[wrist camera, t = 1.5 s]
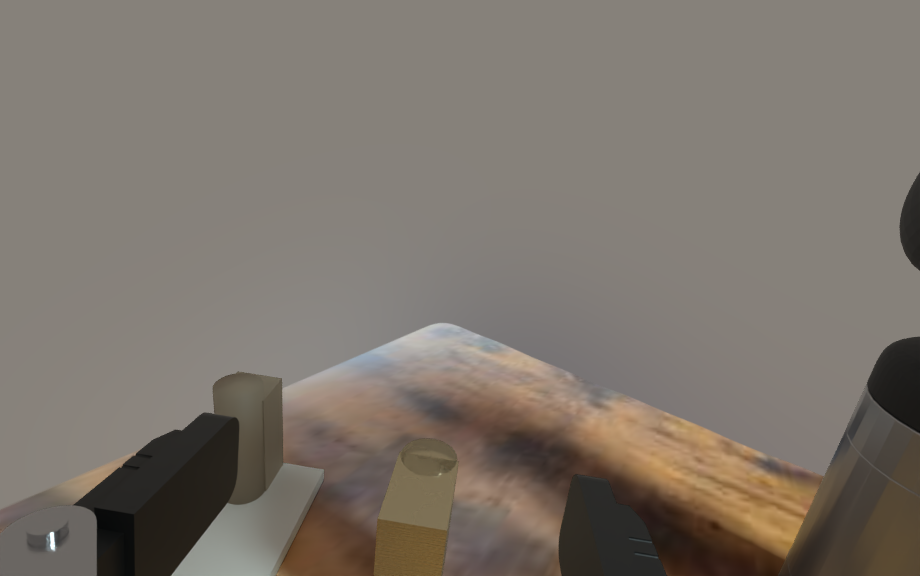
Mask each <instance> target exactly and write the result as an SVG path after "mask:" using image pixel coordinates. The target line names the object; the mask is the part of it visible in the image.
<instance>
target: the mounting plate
mask: <svg viewBox="0 0 920 576" xmlns="http://www.w3.org/2000/svg"><path fill="white" fill-rule="evenodd" d="M213 400H214V413H215V414H218V415H224V416H230V417H236V418H237V419H238V421H239V450H238V472H237V480H236V485H235V488H234V491H233V493H232V496H231V498H230V500H229V501H228V503H227V504H226V505H225V507H224V508H223V509H222V511H221V512H220V513H219V514H218V516H217V517H216V518H215V520H214V521H213V522H212V524H211V525H210V526H209V527H208V529H207V530H206V531H205V533H204V534H203V535H202V536H201V538H200V539H199V540H198V542H197V543H196V544H195V545H194V547H193V548H192V549H191V551H190V552H189V553H188V555H187V556H186V557H185V558H184V560H183V561H182V562H181V564H180V565H179V566H178V567H177V569H176V570H175V571H174V573H173V574H172V575H171V576H276V574H277V572H278V570H279V568H280V566H281V564H282V562H283V560H284V558H285V556H286V554H287V552H288V550H289V548H290V546H291V544H292V542H293V540H294V538H295V536H296V534H297V532H298V530H299V528H300V526H301V524H302V522H303V520H304V518H305V516H306V514H307V512H308V510H309V508H310V506H311V504H312V502H313V500H314V498H315V496H316V494H317V492H318V490H319V488H320V486H321V484H322V482H323V480H324V470H323V469H317V468H312V467H306V466H300V465H294V464H288V463H283V420H282V378H275V377H269V376H263V375H256V374H250V373H244V372H237V373H236V374H232V375H228V376H225V377H223V378H221V379H219V380H218V381H216V382H215V384H214V385H213Z"/></svg>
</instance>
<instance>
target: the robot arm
mask: <svg viewBox="0 0 920 576" xmlns="http://www.w3.org/2000/svg"><path fill="white" fill-rule="evenodd" d="M900 238H901V243H902V246H903V249H904V252H905V254H906V256H907V257H908V259H909V260H910V261H911V263H912V264H913V265H914V266H915V267H916V268H917V269H918V270H920V173H919V174H918V176H917V178H916V179H915V181H914V183H913V185H912V187H911V189H910V190H909V193H908V195H907V197H906V200H905V202H904V206H903V209H902V213H901V218H900ZM238 450H239V421H238V419H237V418H236V417H230V416H224V415H218V414H212V413H203V414H201V415H200V416H199V417H197V418H196V419H195V420H194V421H193V422H192V423H190V424H189V425H188V426H187V427H186V428H185V429H184V430H182V431H181V430H174V431H172V432H169V433H167V434H165V435H163V436H160V437H159V438H156V439H154V440H152V441H151V442H150V443H148V444H147V445H146V446H145V447H143V448H142V449H141V450H140V451H139V452H137V453H136V456H133V457H131V458H130V459H129V460H128V461H126V462H125V463H124V464H123V466H122V468H120V467H119V468H118V469H117V470H116V471H114V472H113V473H112V474H111V475H109V476H108V477H107V478H106V479H105V480H103V481H102V482H101V483H100V484H98V485H97V486H96V487H95V488H94V489H92V490H91V491H90V492H89V493H88V494H86V495H85V496H84V497H83V498H81V499H80V500H79V501H78V502H77V503H75V504H74V505H64V506H55V507H50V508H46V509H42V510H39V511H36V512H33V513H31V514H28V515H26V516H24V517H22V518H20V519H18V520H17V521H15V522H13V523H12V524H10V525H9V526H8V527H7V528H5V529H4V530H3V532H2V533H1V534H0V576H171V575H172V574H173V573H174V571H175V570H176V569H177V567H178V566H179V565H180V564H181V562H182V561H183V560H184V558H185V557H186V556H187V555H188V553H189V552H190V551H191V549H192V548H193V547H194V545H195V544H196V543H197V542H198V540H199V539H200V538H201V536H202V535H203V534H204V533H205V531H206V530H207V529H208V527H209V526H210V525H211V524H212V522H213V521H214V520H215V518H216V517H217V516H218V514H219V513H220V512H221V511H222V509H223V508H224V507H225V505H226V504H227V503H228V501H229V500H230V498H231V496H232V493H233V491H234V488H235V485H236V480H237V472H238ZM559 562H560V568H561V574H562V576H667V575H666V572H665V570H664V568H663V565H662V563H661V561H660V559H658V553H657V551H656V549H655V546H654V544H652V539H651V537H650V534H649V532H648V529H647V527H646V525H645V522H644V521H643V520H642V519H641V518H640V517H639V516H638V515H637V514H636V513H635V511H634V510H633V509H632V508H631V507H630V506H628V505H622V504H617V503H616V501H615V498H614V495H613V492H612V489H611V487H610V484H609V481H608V480H607V479H602V478H596V477H590V476H584V475H578V474H575V475H574V476H573V478H572V481H571V485H570V490H569V494H568V499H567V503H566V507H565V512H564V516H563V521H562V525H561V530H560V536H559ZM778 576H920V337H912V338H907V339H902V340H899V341H896V342H894V343H892V344H891V345H889V346H888V347H887V348H886V349H885V350H884V351H883V352H882V353H881V355H880V357H879V358H878V360H877V362H876V364H875V366H874V368H873V371H872V373H871V375H870V377H869V380H868V382H867V385H866V386H865V388H864V391H863V393H862V395H861V397H860V399H859V401H858V404H857V406H856V408H855V410H854V412H853V414H852V417H851V419H850V421H849V423H848V425H847V428H846V430H845V432H844V435H843V437H842V439H841V441H840V443H839V445H838V448H837V450H836V452H835V454H834V456H833V458H832V460H831V463H830V465H829V467H828V469H827V471H826V473H825V476H824V478H823V480H822V482H821V484H820V486H819V489H818V491H817V493H816V495H815V497H814V499H813V502H812V504H811V506H810V508H809V510H808V512H807V515H806V517H805V519H804V521H803V523H802V525H801V527H800V530H799V532H798V534H797V536H796V538H795V540H794V543H793V545H792V547H791V549H790V551H789V553H788V555H787V557H786V559H785V561H784V563H783V566H782V568H781V570H780V572H779V574H778Z"/></svg>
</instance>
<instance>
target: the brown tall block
mask: <svg viewBox="0 0 920 576" xmlns="http://www.w3.org/2000/svg"><path fill="white" fill-rule="evenodd" d="M458 462H459V461H457V455H456V453H455V451H454V450H453V449H452V447H450V446H449V445H448V444H446V443H444V442H442V441H439V440H436V439H418V440H415V441H412V442H410V443H408V444H407V445H406V446H405V447H404V448H403V450H402V452H400V453H399V456H398V459H397V462H396V465H395V468H394V471H393V474H392V477H391V480H390V483H389V486H388V489H387V492H386V495H385V498H384V501H383V504H382V507H381V510H380V513H379V516H378V521H377V535H376V549H375V563H374V576H443V570H444V563H445V556H446V548H447V541H448V534H449V527H450V520H451V513H452V505H453V498H454V491H455V484H456V477H457V469H458Z"/></svg>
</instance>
